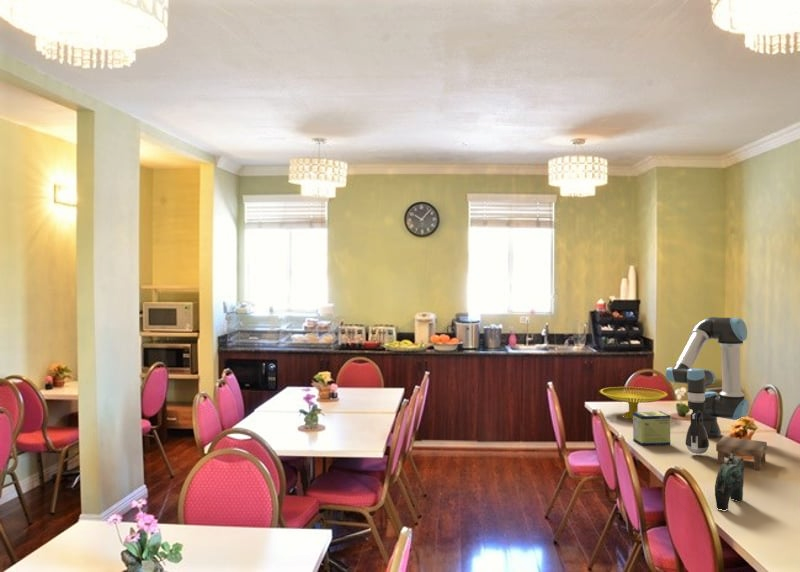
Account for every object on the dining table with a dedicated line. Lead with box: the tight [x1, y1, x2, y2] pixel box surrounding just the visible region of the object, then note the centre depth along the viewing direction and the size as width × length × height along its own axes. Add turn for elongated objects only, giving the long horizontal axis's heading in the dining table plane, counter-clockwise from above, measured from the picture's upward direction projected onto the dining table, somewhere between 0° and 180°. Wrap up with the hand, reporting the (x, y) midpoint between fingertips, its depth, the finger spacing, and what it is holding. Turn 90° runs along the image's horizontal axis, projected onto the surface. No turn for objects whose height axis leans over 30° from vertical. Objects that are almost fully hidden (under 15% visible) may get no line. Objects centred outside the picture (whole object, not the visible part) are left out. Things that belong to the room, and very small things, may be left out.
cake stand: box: [598, 386, 669, 419], centre depth 370 cm, size 40×40×15 cm
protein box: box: [632, 410, 671, 447], centre depth 310 cm, size 10×16×16 cm
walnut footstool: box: [715, 435, 768, 472], centre depth 275 cm, size 18×18×9 cm
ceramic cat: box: [714, 451, 745, 510], centre depth 224 cm, size 20×6×20 cm, turn 131°
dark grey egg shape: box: [685, 422, 710, 455], centre depth 287 cm, size 10×10×15 cm
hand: (697, 446), depth 287 cm, fingers closed on dark grey egg shape, 10 cm apart
